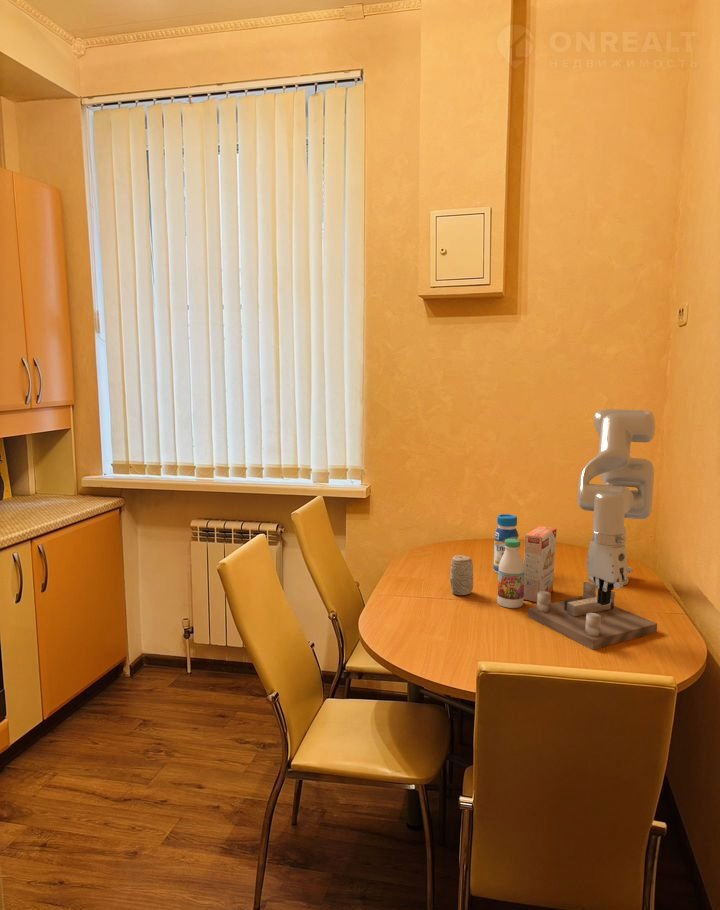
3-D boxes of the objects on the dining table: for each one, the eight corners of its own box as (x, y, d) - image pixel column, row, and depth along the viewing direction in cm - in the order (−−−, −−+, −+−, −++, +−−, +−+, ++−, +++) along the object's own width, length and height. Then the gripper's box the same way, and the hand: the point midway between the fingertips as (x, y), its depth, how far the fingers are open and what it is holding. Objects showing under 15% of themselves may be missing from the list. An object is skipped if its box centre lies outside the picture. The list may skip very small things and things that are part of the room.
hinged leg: (607, 604, 183) (608, 589, 182) (616, 608, 180) (617, 593, 179) (566, 612, 176) (567, 597, 176) (574, 616, 173) (575, 601, 173)
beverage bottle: (516, 568, 224) (518, 513, 221) (518, 576, 216) (520, 519, 213) (492, 567, 225) (494, 512, 223) (493, 574, 217) (495, 518, 214)
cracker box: (540, 604, 190) (543, 537, 187) (521, 599, 194) (523, 534, 191) (554, 590, 202) (557, 527, 199) (536, 587, 205) (538, 524, 202)
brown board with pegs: (588, 603, 191) (589, 579, 190) (656, 632, 170) (658, 605, 169) (527, 616, 180) (528, 591, 179) (592, 649, 159) (594, 621, 158)
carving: (445, 591, 200) (446, 555, 199) (466, 588, 203) (467, 553, 201) (455, 598, 194) (456, 561, 193) (476, 595, 197) (477, 558, 195)
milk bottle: (493, 599, 193) (496, 537, 191) (518, 599, 194) (520, 536, 191) (501, 609, 186) (504, 544, 183) (526, 608, 186) (529, 543, 184)
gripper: (641, 543, 160) (636, 610, 164) (595, 528, 174) (592, 591, 177) (620, 548, 157) (616, 616, 160) (575, 532, 170) (572, 596, 173)
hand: (603, 603), depth 169 cm, fingers closed
